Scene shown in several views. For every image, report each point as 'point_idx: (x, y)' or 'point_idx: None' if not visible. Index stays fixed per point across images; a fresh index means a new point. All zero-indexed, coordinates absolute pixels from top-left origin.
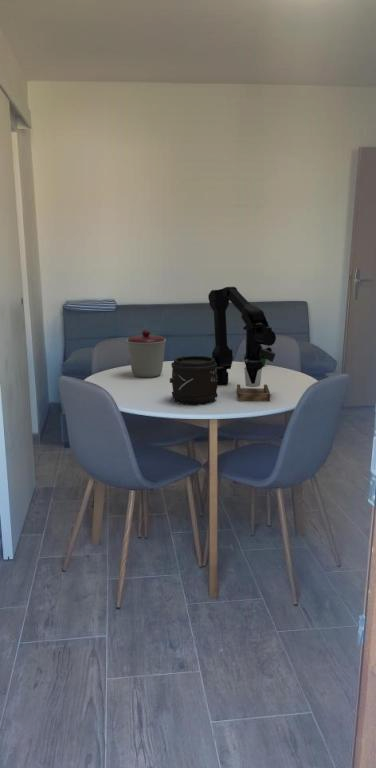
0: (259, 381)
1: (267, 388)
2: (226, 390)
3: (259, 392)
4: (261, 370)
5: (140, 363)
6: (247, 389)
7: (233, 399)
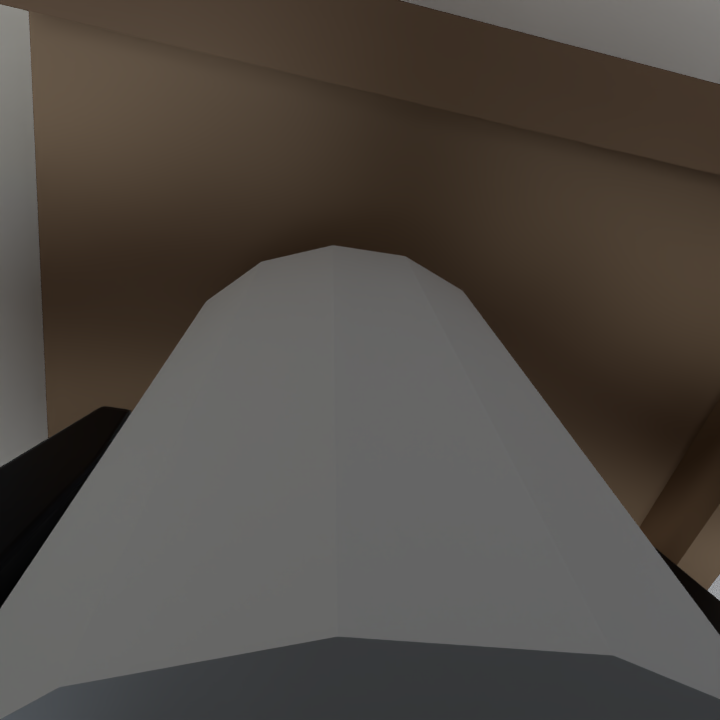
0: (509, 354)
1: (491, 51)
2: None
3: (425, 225)
4: (605, 577)
5: None
6: (144, 376)
7: None
